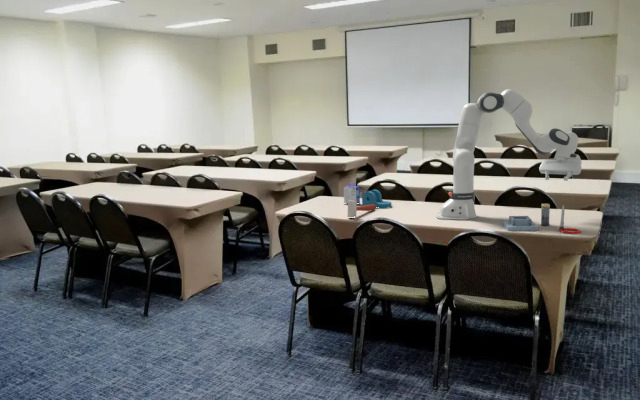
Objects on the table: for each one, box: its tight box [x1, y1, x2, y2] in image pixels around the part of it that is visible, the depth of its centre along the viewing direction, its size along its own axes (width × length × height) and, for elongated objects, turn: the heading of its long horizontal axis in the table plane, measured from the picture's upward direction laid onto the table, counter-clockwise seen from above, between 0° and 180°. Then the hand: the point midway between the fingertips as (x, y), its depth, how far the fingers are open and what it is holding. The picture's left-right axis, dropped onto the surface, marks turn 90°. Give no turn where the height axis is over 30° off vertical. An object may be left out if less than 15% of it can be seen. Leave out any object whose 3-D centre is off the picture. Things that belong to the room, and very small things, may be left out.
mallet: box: [346, 201, 377, 218], centre depth 315 cm, size 11×4×30 cm
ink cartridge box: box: [343, 182, 361, 204], centre depth 349 cm, size 10×6×14 cm, turn 57°
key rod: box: [540, 203, 551, 227], centre depth 262 cm, size 4×4×11 cm
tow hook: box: [558, 205, 582, 235], centre depth 247 cm, size 8×13×9 cm
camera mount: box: [361, 189, 392, 209], centre depth 337 cm, size 18×10×10 cm, turn 57°
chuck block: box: [502, 215, 539, 232], centre depth 261 cm, size 14×14×5 cm
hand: (556, 179), depth 268 cm, fingers open, 8 cm apart
